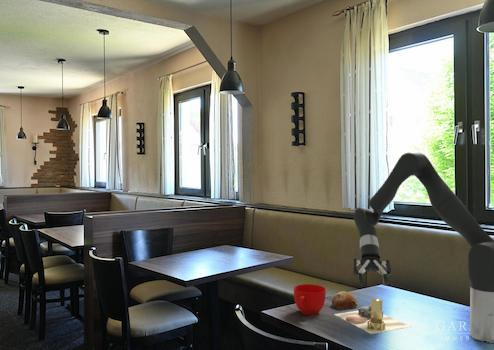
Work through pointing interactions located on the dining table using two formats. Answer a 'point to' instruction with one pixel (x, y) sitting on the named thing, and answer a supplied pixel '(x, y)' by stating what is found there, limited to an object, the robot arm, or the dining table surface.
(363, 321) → the gear board
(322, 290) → the ceramic cup
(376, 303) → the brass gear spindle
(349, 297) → the bread roll
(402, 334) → the dining table surface
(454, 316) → the dining table surface
